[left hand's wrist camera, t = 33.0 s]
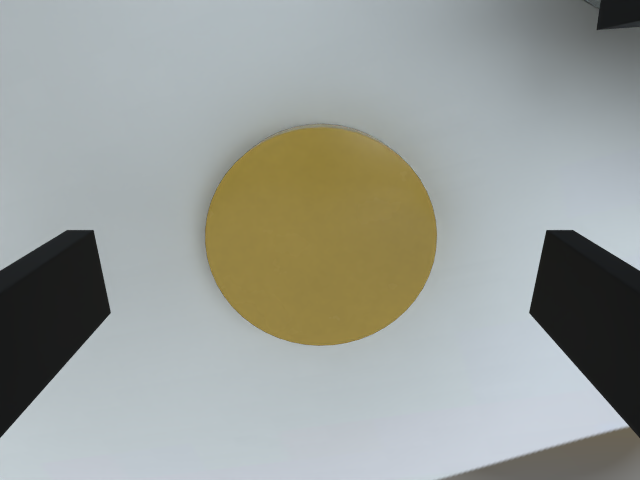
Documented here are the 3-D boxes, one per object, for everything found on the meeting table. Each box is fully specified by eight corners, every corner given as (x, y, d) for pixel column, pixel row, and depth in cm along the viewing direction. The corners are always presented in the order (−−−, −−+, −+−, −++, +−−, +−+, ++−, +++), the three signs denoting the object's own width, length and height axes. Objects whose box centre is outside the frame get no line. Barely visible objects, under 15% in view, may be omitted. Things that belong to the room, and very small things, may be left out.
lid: (260, 84, 17) (253, 84, 15) (465, 178, 18) (481, 188, 16) (188, 281, 20) (175, 299, 18) (369, 351, 21) (373, 374, 19)
